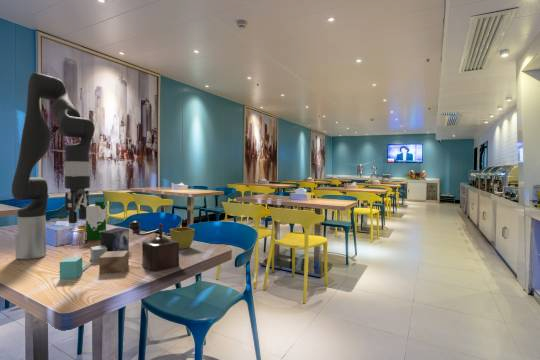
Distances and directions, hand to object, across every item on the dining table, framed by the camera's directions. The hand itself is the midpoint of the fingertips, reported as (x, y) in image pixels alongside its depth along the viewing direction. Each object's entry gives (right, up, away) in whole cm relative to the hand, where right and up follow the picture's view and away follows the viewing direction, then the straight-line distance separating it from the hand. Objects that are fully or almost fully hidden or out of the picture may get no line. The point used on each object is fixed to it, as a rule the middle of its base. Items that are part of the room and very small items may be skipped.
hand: (78, 221), depth 106 cm
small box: (-1, -18, +27) cm, 33 cm away
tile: (-5, -19, +7) cm, 20 cm away
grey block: (-1, -16, +16) cm, 23 cm away
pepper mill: (+23, -19, +10) cm, 31 cm away
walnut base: (+10, -19, +6) cm, 22 cm away
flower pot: (+25, -18, +39) cm, 49 cm away
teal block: (-1, -19, -1) cm, 19 cm away
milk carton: (-25, -17, +54) cm, 62 cm away
